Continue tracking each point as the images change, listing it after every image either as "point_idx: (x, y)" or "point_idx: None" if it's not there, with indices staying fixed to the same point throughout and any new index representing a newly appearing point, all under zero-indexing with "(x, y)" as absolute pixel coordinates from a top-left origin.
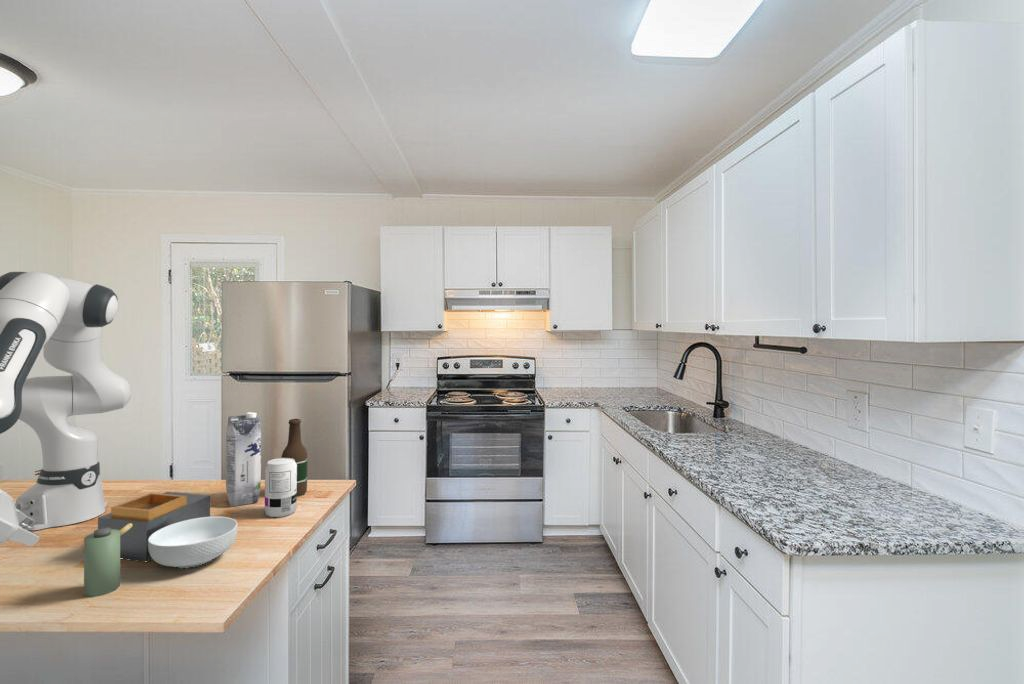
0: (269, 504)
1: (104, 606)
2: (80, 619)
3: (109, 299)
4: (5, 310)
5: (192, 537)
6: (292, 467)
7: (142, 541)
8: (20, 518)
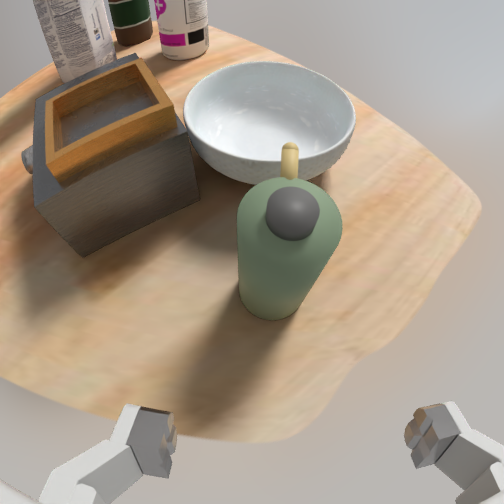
0: (188, 41)
1: (360, 299)
2: (384, 339)
3: None
4: None
5: (206, 120)
6: None
7: (183, 173)
8: (120, 470)
